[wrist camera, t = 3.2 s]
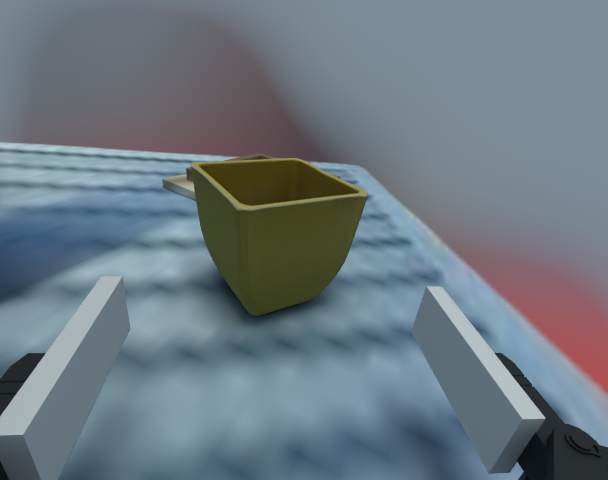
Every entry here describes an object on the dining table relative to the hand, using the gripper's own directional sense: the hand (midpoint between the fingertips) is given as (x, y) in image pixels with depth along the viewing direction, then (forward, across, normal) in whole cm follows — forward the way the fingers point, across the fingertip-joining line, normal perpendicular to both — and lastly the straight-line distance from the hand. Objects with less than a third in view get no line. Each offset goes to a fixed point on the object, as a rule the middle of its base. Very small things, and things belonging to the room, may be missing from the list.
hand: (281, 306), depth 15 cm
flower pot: (+10, 0, -6) cm, 11 cm away
